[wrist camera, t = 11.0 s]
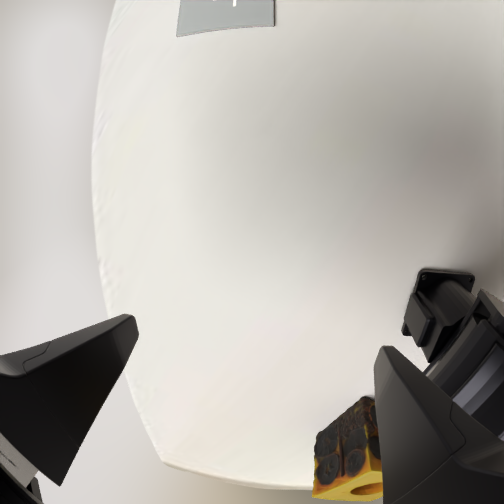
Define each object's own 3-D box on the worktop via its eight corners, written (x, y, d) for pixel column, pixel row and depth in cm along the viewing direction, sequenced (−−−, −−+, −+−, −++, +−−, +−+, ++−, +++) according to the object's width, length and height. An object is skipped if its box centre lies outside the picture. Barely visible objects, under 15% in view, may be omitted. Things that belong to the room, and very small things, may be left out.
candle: (362, 394, 25) (370, 469, 16) (417, 410, 25) (432, 472, 16) (313, 434, 29) (307, 497, 20) (368, 447, 29) (371, 502, 20)
